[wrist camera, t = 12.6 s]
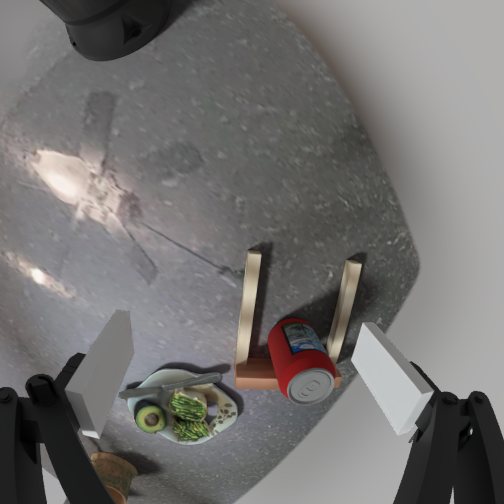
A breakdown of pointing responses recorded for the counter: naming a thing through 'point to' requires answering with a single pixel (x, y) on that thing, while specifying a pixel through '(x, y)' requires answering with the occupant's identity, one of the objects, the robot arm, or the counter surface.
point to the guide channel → (252, 369)
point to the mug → (114, 474)
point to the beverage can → (300, 362)
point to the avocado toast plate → (180, 405)
